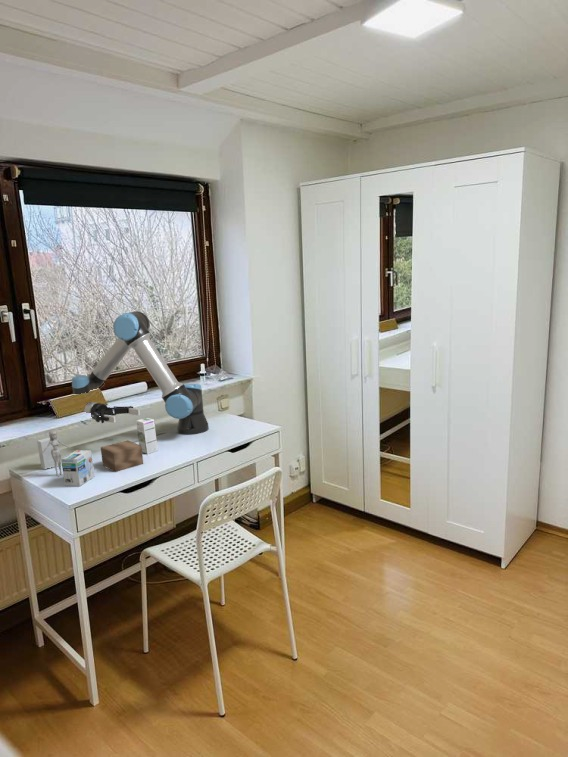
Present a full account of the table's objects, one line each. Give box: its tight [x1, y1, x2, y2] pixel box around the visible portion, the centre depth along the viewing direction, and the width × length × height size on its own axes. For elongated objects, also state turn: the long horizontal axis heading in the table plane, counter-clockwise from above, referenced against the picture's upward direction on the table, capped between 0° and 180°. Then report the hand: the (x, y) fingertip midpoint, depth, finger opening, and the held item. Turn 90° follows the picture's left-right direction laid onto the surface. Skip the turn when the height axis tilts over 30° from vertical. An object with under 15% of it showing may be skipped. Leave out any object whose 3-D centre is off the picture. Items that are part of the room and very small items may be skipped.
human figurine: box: [39, 430, 72, 477], centre depth 222 cm, size 12×4×18 cm, turn 131°
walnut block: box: [100, 439, 144, 473], centre depth 230 cm, size 12×12×8 cm
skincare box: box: [36, 436, 59, 470], centre depth 233 cm, size 6×4×12 cm
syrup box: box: [135, 417, 159, 455], centre depth 245 cm, size 6×6×14 cm
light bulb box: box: [60, 449, 96, 487], centre depth 214 cm, size 11×7×11 cm, turn 168°
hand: (127, 415), depth 249 cm, fingers open, 13 cm apart
